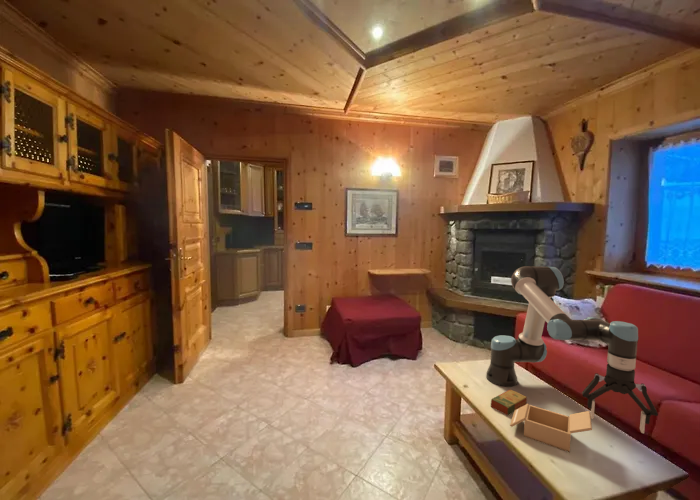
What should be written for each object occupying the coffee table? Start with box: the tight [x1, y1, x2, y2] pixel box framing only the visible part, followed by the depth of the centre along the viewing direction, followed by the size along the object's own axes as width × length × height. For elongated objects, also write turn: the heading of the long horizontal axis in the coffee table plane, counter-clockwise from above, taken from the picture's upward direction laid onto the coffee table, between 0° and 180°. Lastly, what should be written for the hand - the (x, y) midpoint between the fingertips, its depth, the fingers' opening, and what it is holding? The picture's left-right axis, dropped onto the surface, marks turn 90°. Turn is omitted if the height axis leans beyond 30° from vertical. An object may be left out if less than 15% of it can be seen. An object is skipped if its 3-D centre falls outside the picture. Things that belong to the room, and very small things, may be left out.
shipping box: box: [509, 403, 572, 453], centre depth 125 cm, size 13×20×8 cm, turn 55°
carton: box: [490, 389, 528, 416], centre depth 144 cm, size 8×16×4 cm, turn 123°
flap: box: [569, 410, 593, 434], centre depth 117 cm, size 13×1×7 cm
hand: (616, 423), depth 111 cm, fingers open, 13 cm apart
